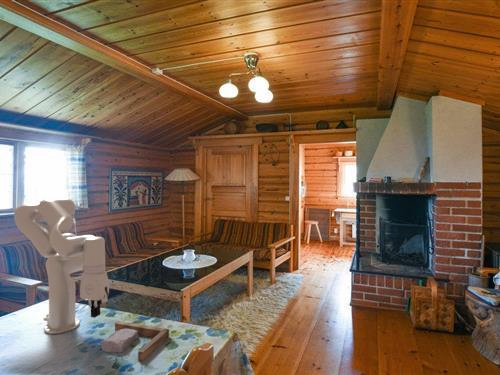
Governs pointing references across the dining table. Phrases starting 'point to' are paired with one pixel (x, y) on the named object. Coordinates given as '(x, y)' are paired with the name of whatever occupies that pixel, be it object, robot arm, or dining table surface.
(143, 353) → the wooden corner frame
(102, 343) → the stone block
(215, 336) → the dining table surface
